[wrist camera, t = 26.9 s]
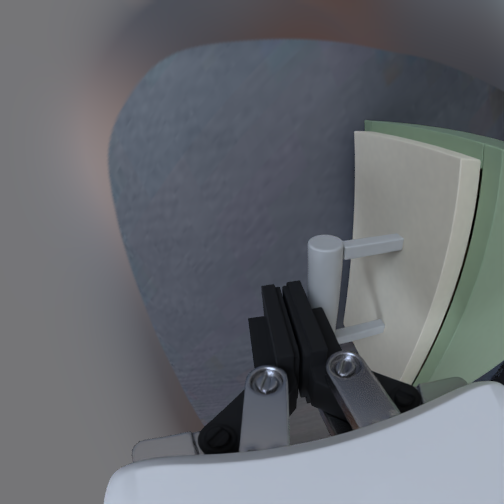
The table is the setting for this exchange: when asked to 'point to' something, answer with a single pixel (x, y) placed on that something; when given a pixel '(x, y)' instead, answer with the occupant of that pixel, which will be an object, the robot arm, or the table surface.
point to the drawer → (398, 250)
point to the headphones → (500, 377)
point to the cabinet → (469, 263)
